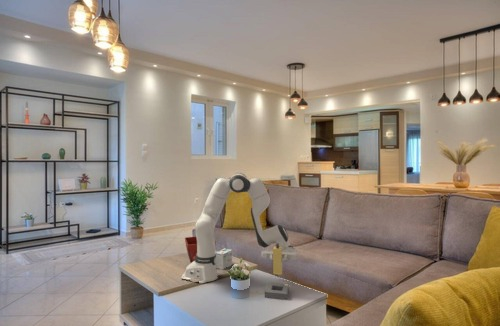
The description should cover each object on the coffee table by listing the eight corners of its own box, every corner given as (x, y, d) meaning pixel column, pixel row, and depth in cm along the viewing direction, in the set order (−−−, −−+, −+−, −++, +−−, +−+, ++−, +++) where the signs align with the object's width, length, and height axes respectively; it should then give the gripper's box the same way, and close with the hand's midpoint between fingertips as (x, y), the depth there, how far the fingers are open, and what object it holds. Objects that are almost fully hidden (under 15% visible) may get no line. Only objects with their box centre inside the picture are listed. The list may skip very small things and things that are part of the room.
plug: (273, 274, 173) (272, 244, 172) (274, 271, 177) (273, 242, 176) (281, 274, 172) (281, 245, 171) (282, 272, 176) (282, 242, 175)
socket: (264, 297, 170) (264, 290, 170) (268, 287, 182) (268, 281, 182) (286, 299, 167) (287, 292, 167) (289, 289, 179) (289, 283, 179)
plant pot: (184, 260, 227) (184, 237, 227) (211, 257, 233) (211, 234, 232) (187, 269, 209) (187, 244, 208) (216, 266, 215) (216, 242, 214)
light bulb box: (224, 263, 221) (224, 247, 221) (232, 265, 218) (232, 249, 217) (215, 268, 212) (215, 252, 212) (223, 270, 209) (223, 253, 208)
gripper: (263, 245, 189) (258, 252, 175) (297, 246, 184) (295, 254, 171) (263, 255, 189) (258, 263, 175) (298, 257, 184) (296, 266, 171)
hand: (277, 259), depth 173 cm, fingers closed on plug, 4 cm apart
